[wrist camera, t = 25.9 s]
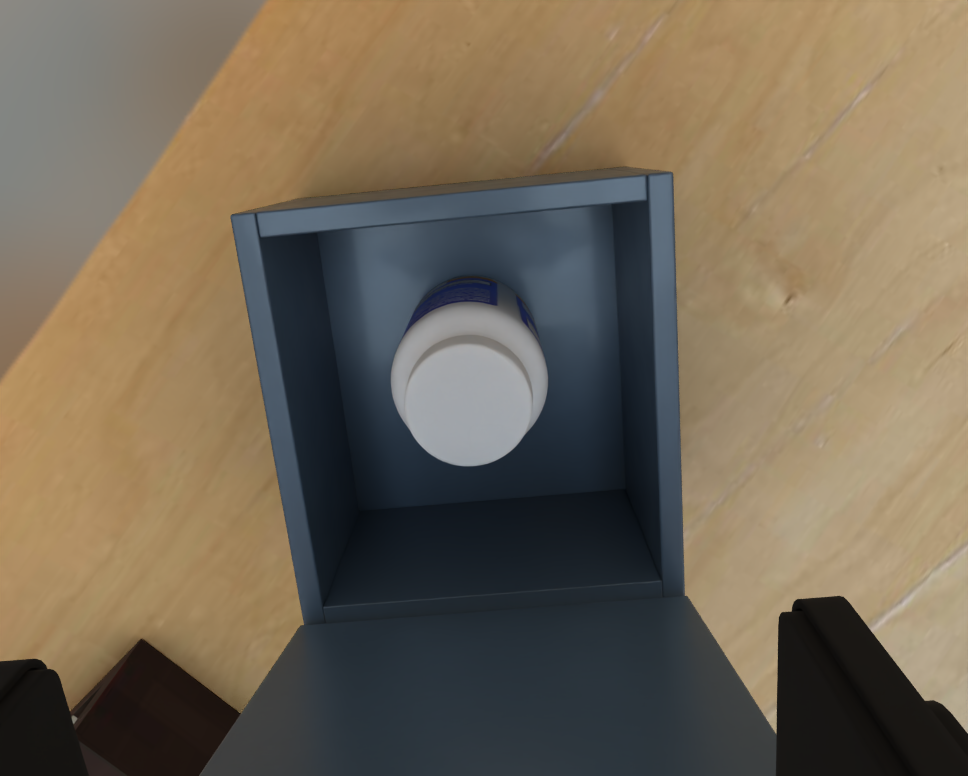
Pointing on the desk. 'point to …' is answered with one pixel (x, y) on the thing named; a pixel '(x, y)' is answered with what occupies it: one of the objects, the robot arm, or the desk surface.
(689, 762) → the lid
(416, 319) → the pill bottle
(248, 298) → the grey open box
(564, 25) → the desk surface
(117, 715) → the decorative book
